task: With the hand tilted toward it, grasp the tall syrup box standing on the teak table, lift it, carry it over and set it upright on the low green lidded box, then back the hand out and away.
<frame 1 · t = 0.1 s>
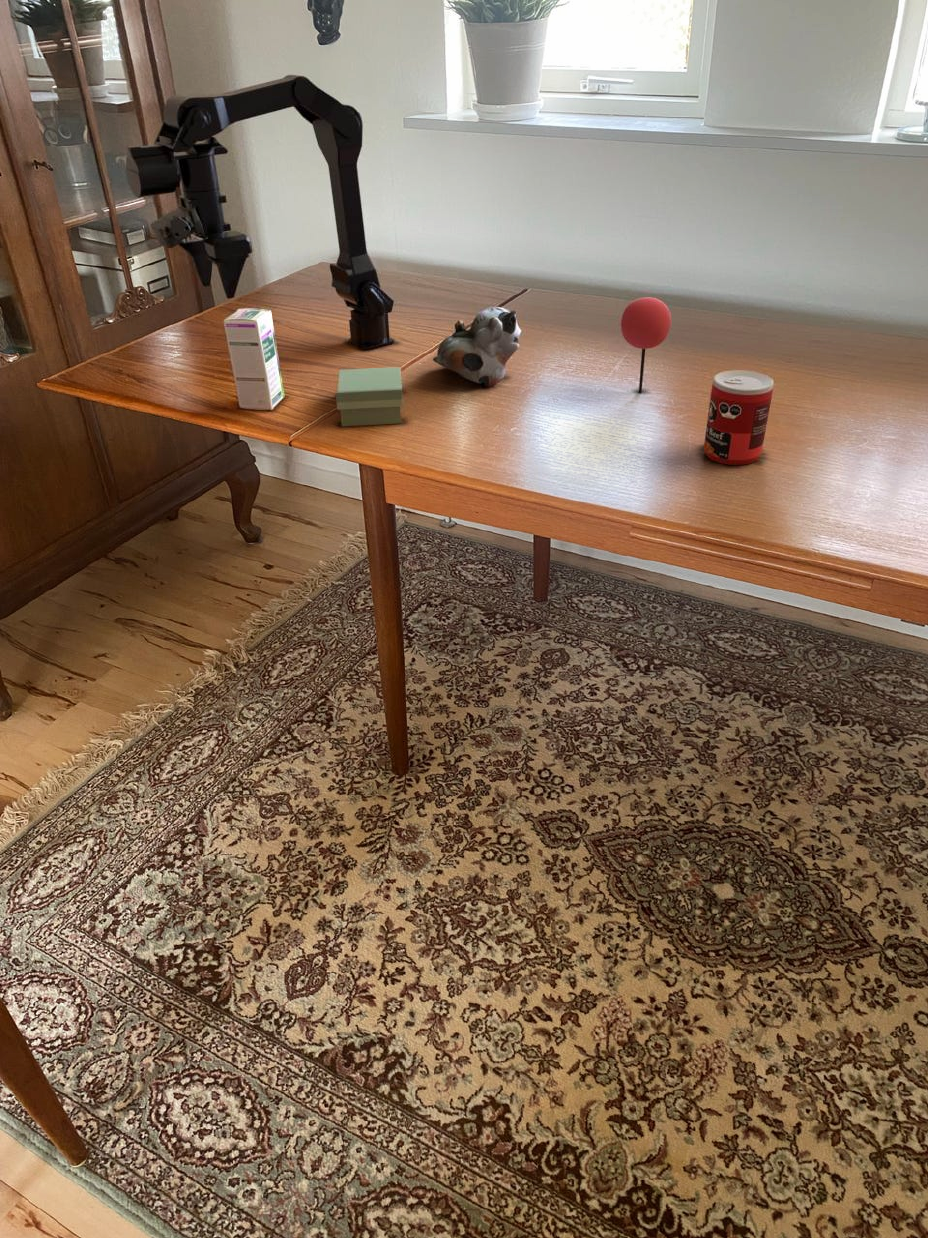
hand: (218, 291, 151), 15 cm above the table, tool pointing down, fingers open, 9 cm apart
lollipop: (639, 392, 151), on the table
lucky cat figurine: (476, 376, 159), on the table
syrup box: (262, 404, 150), on the table
green lidded box: (371, 407, 148), on the table
canned food: (731, 455, 131), on the table
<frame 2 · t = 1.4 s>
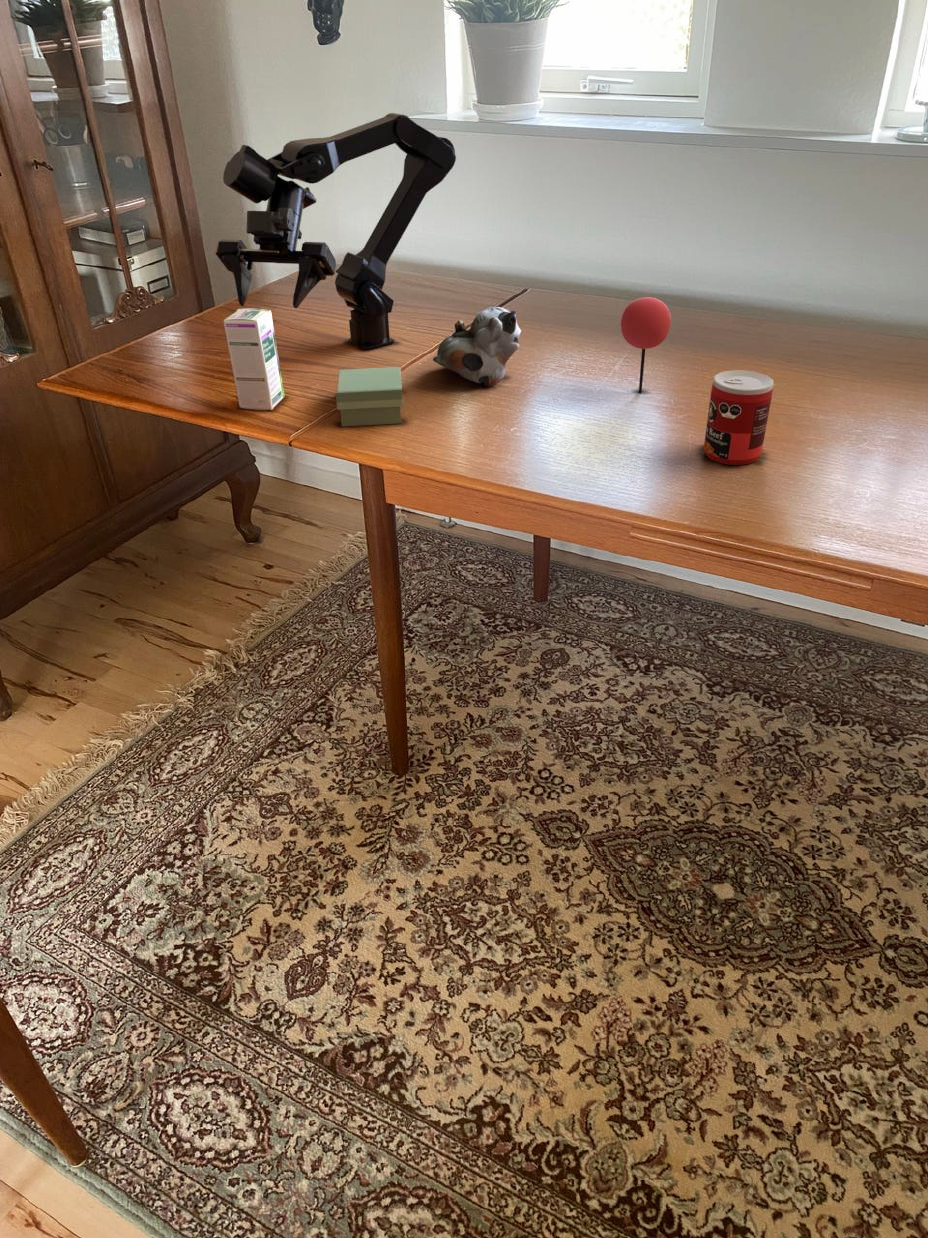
hand: (267, 305, 149), 13 cm above the table, tool tilted 45°, fingers open, 9 cm apart
nothing on the table moved.
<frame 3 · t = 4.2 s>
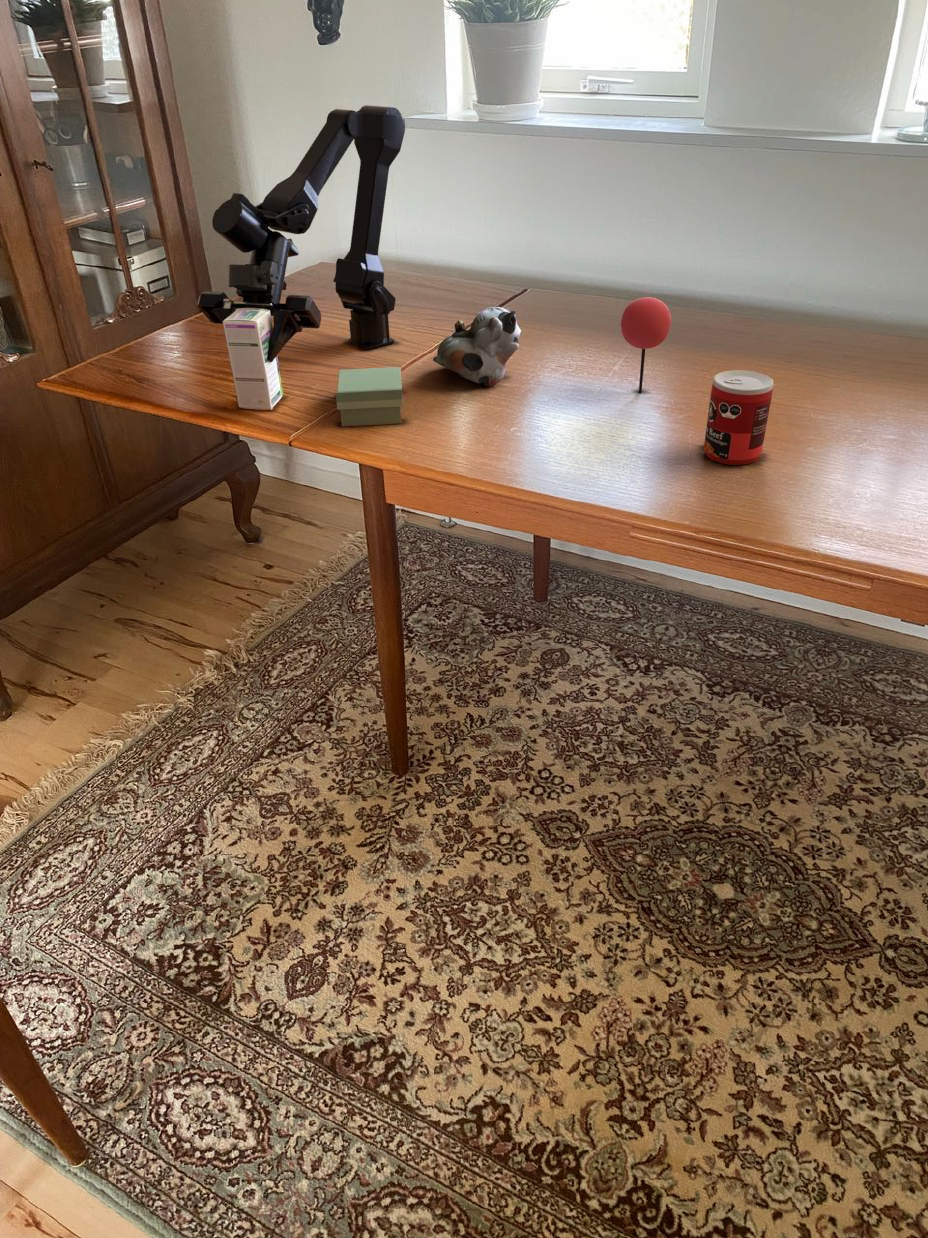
hand: (250, 359, 145), 8 cm above the table, tool tilted 45°, fingers closed on syrup box, 6 cm apart
syrup box: (261, 403, 150), on the table, touching gripper
everything else where it was.
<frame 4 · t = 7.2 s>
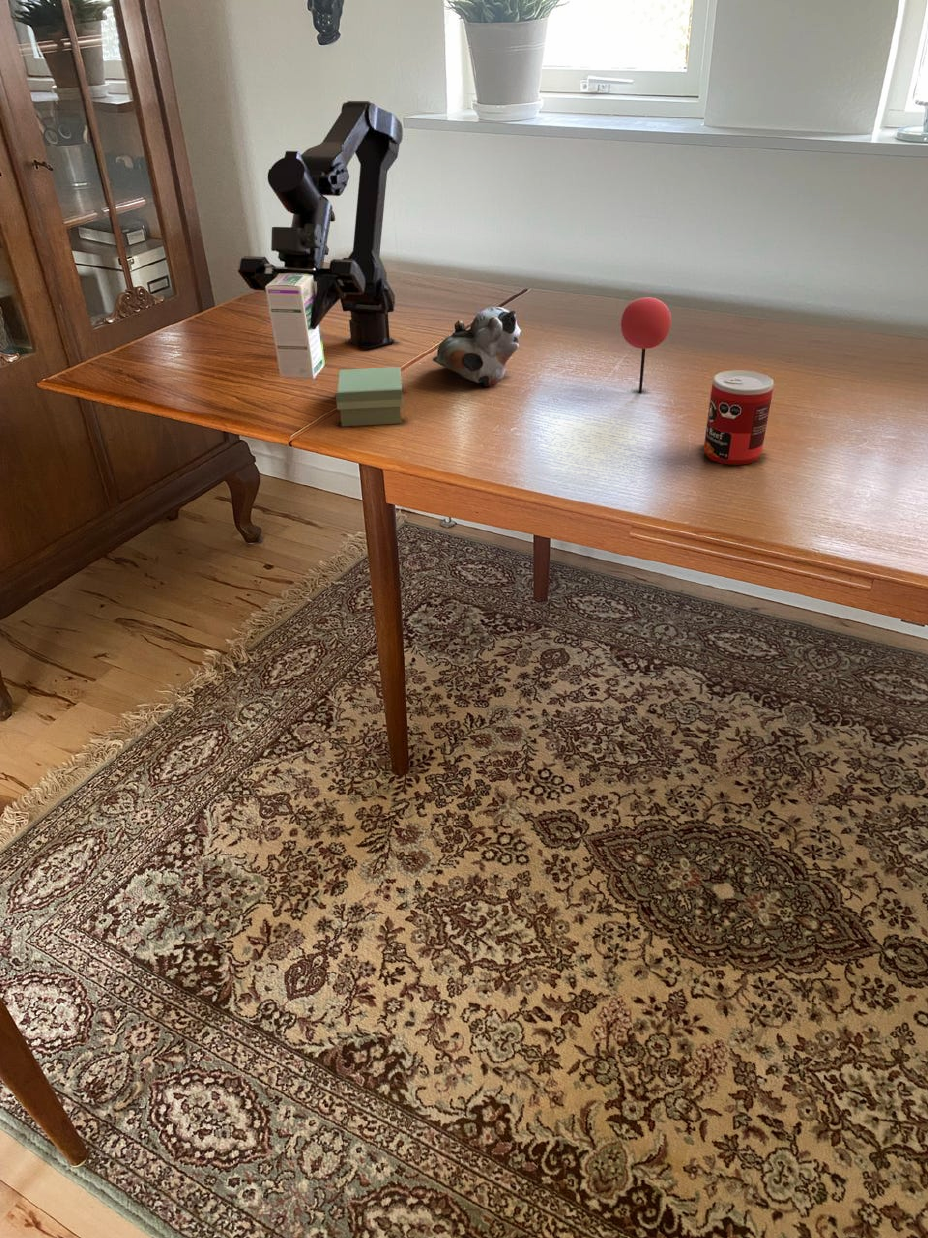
hand: (293, 326, 140), 13 cm above the table, tool tilted 45°, fingers closed on syrup box, 6 cm apart
syrup box: (302, 372, 146), point 5 cm above the table, touching gripper
everything else where it was.
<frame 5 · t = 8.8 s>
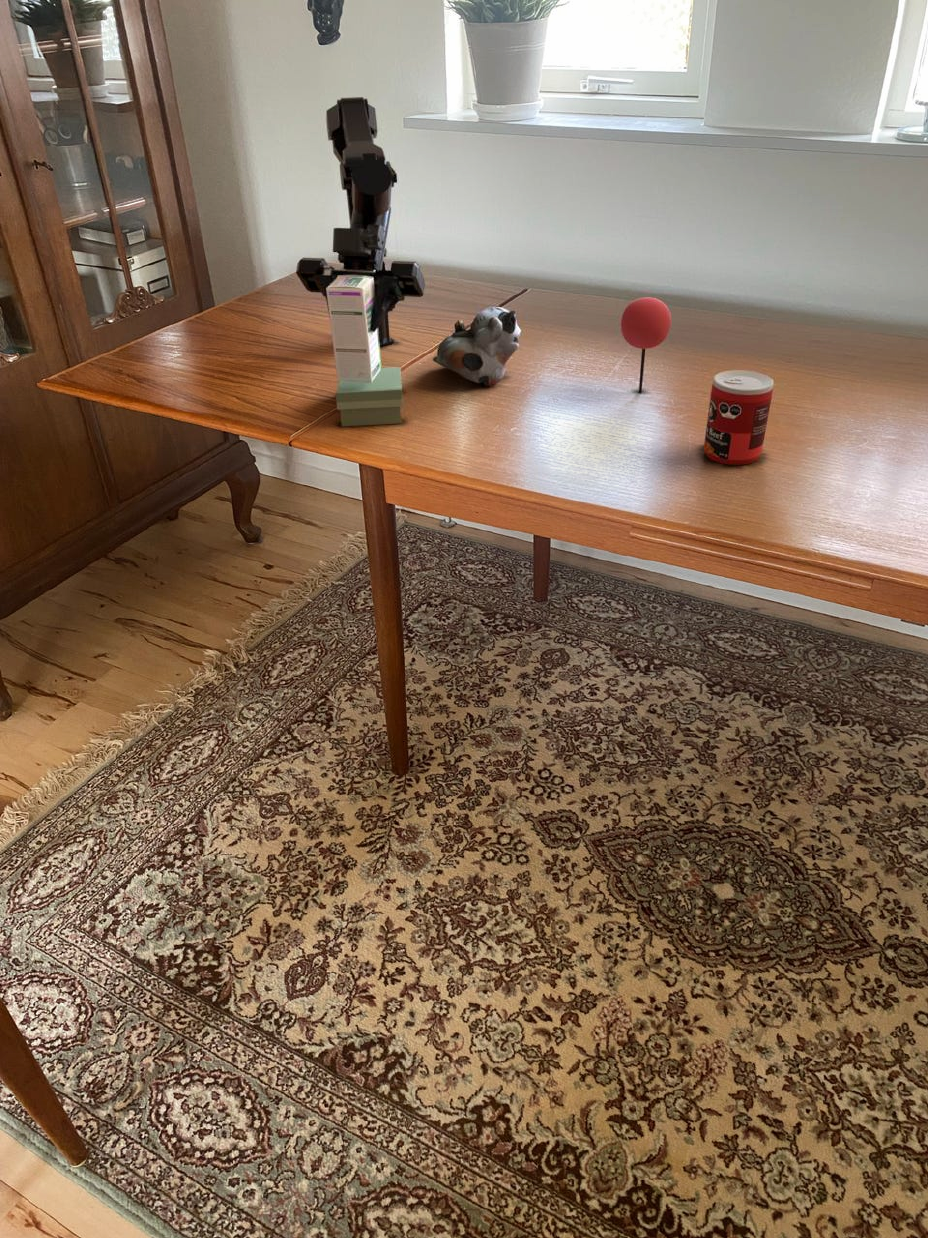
hand: (352, 329, 138), 13 cm above the table, tool tilted 45°, fingers closed on syrup box, 6 cm apart
syrup box: (359, 376, 144), point 6 cm above the table, touching gripper
everything else where it was.
when the fingers open (12 cm above the table, at t = 10.1 s): syrup box stays where it is, resting on green lidded box.
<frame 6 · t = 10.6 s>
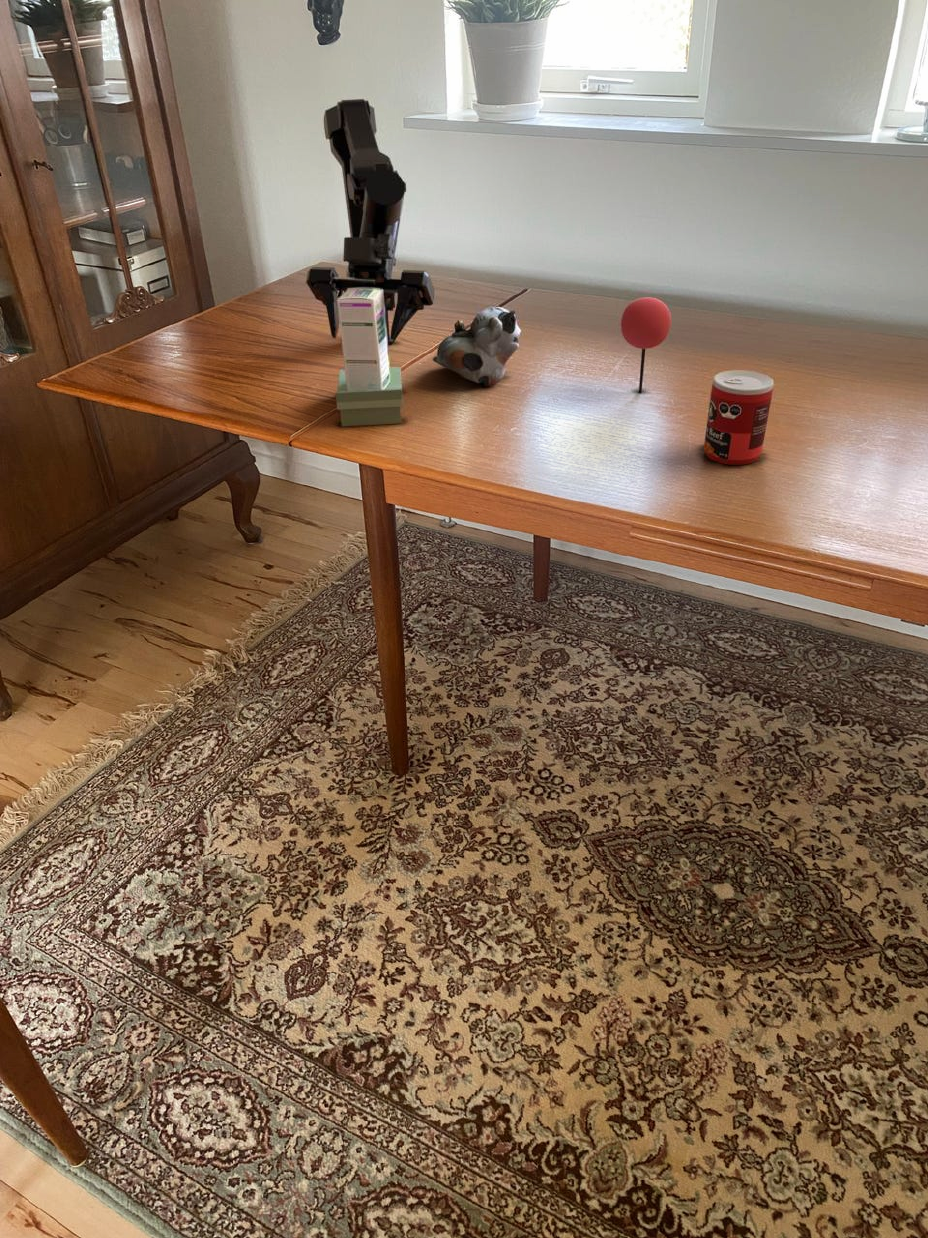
hand: (362, 338, 138), 12 cm above the table, tool tilted 45°, fingers open, 9 cm apart
syrup box: (369, 387, 144), point 4 cm above the table, touching green lidded box
everything else where it was.
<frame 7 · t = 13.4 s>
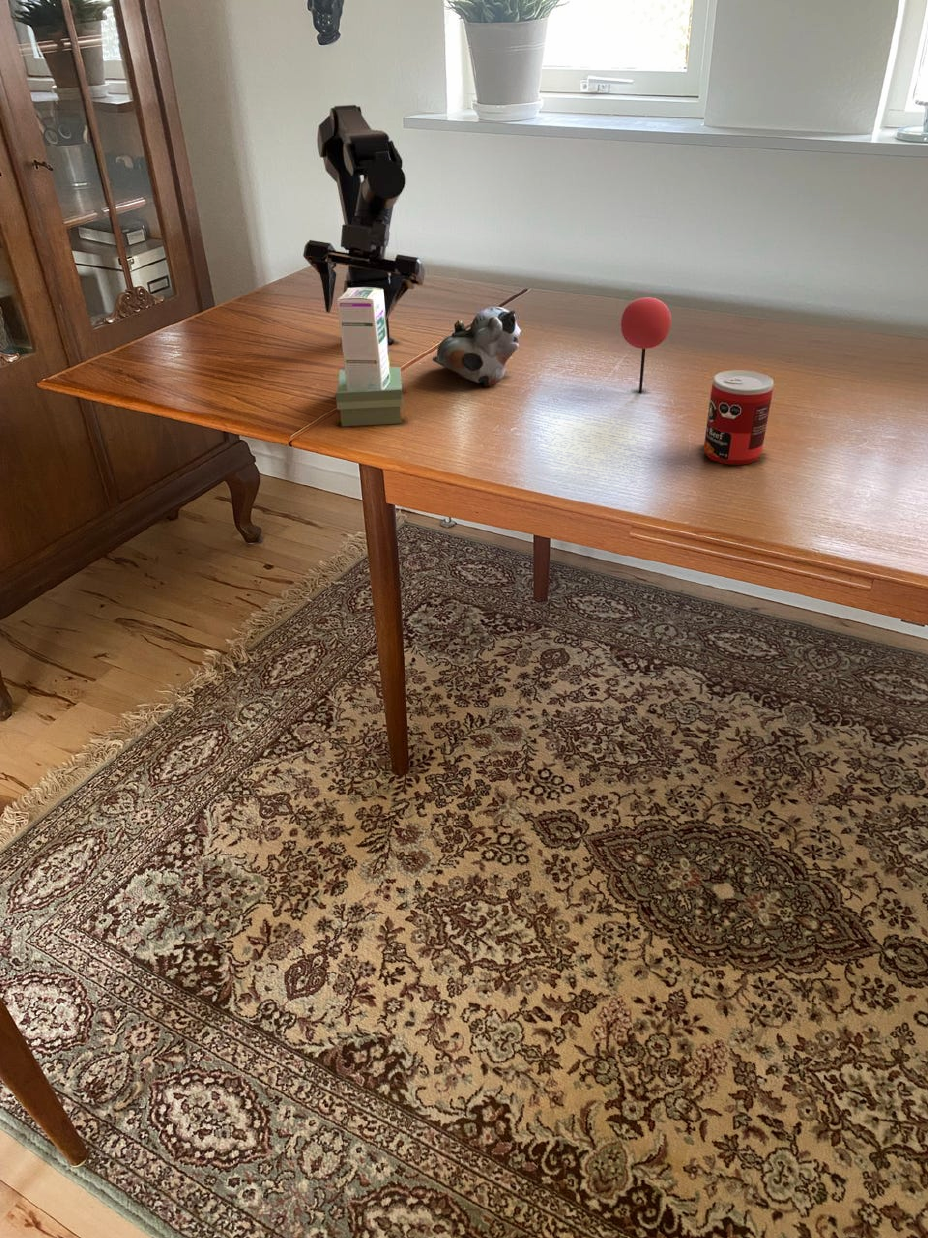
hand: (355, 316, 148), 12 cm above the table, tool tilted 35°, fingers open, 9 cm apart
nothing on the table moved.
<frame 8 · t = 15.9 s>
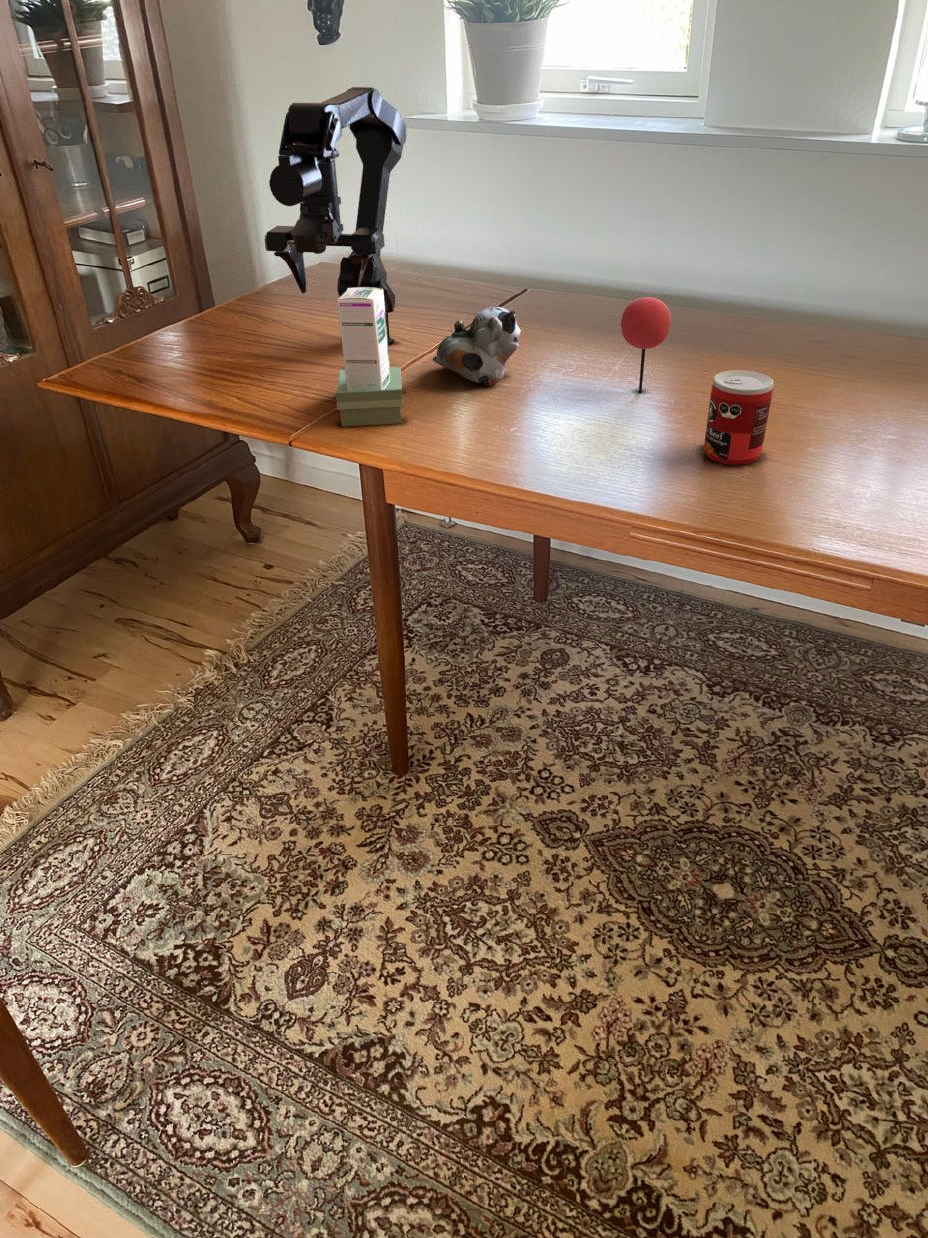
hand: (330, 293, 155), 13 cm above the table, tool pointing down, fingers open, 9 cm apart
nothing on the table moved.
at the end: syrup box 0.3 cm from the target spot on the green lidded box, point 3.8 cm above the green lidded box's base; syrup box tilted 0°; the gripper is holding nothing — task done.
